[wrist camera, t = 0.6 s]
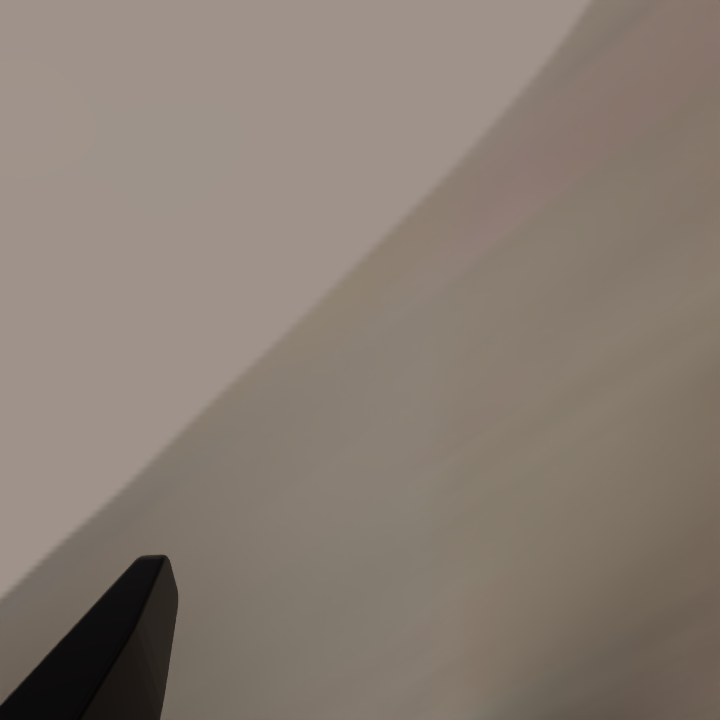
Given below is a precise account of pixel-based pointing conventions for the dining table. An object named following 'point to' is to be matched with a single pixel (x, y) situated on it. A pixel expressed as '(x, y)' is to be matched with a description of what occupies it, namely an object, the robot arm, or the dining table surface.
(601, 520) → the dining table surface
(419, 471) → the dining table surface
